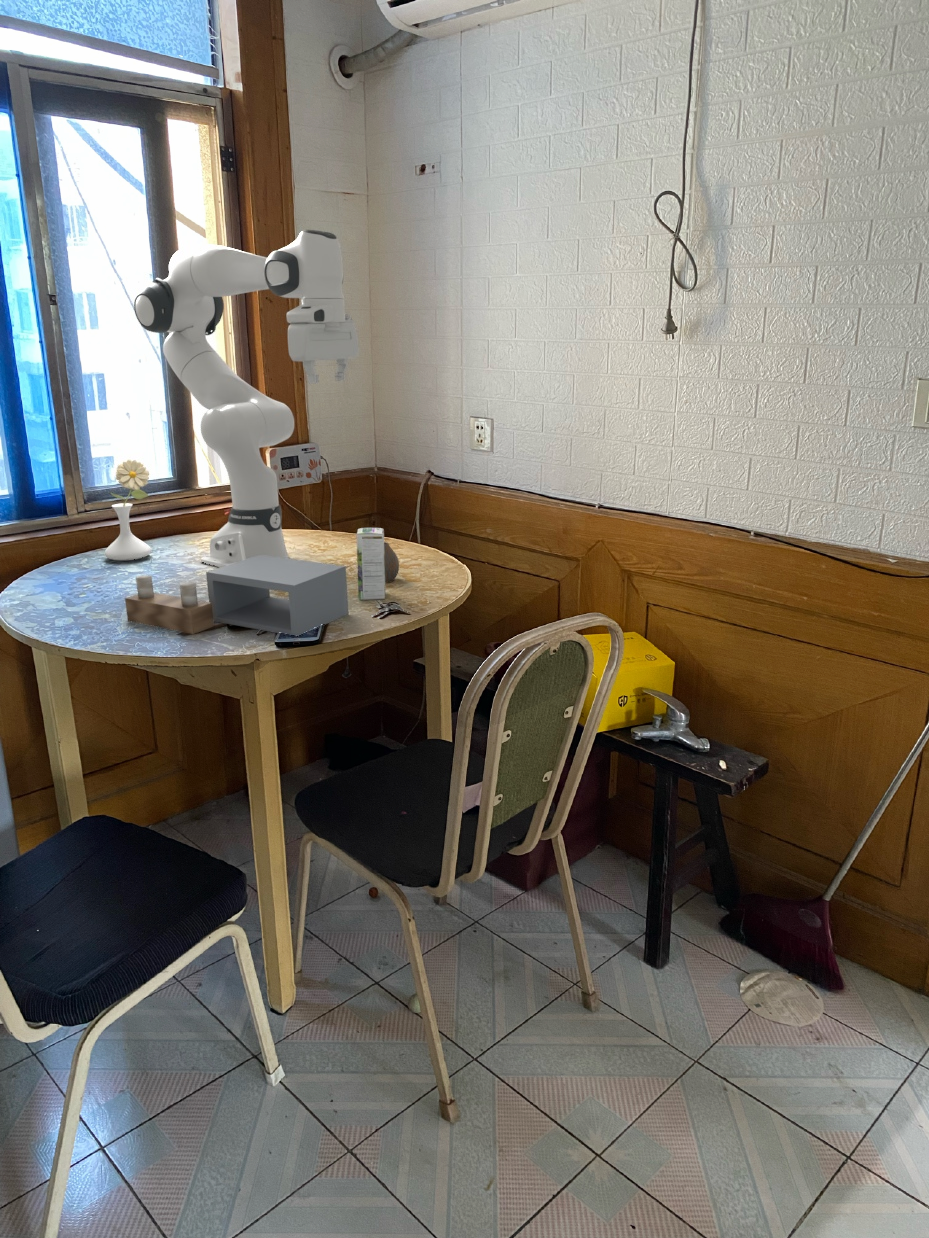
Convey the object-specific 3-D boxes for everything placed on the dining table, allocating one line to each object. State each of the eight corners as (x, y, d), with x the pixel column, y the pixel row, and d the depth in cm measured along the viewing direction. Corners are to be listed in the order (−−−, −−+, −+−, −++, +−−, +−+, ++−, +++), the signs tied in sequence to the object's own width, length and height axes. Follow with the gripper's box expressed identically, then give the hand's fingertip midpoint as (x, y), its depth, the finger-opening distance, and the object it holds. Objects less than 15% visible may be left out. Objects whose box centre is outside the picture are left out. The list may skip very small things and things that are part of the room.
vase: (394, 585, 206) (393, 547, 203) (365, 583, 207) (363, 546, 204) (403, 577, 212) (401, 540, 210) (374, 576, 214) (372, 539, 211)
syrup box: (359, 593, 200) (355, 527, 195) (386, 592, 200) (383, 527, 196) (358, 600, 194) (355, 533, 190) (386, 599, 195) (383, 532, 190)
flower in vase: (102, 565, 227) (88, 464, 219) (108, 555, 237) (95, 458, 230) (157, 561, 229) (145, 461, 222) (160, 551, 240) (149, 455, 232)
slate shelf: (211, 620, 182) (206, 572, 179) (264, 600, 195) (260, 554, 192) (297, 636, 172) (294, 585, 169) (348, 614, 185) (345, 566, 182)
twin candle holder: (128, 622, 183) (122, 578, 180) (149, 614, 188) (144, 572, 185) (193, 635, 174) (188, 589, 172) (214, 627, 179) (209, 582, 176)
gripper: (340, 314, 201) (343, 379, 205) (280, 313, 183) (285, 384, 188) (364, 314, 198) (367, 380, 202) (305, 313, 181) (309, 385, 185)
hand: (327, 382), depth 195 cm, fingers open, 8 cm apart
